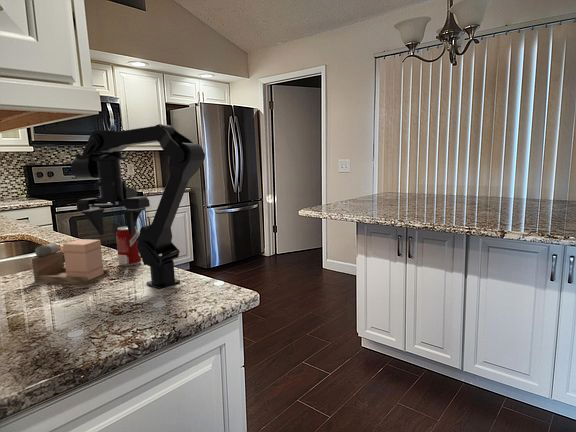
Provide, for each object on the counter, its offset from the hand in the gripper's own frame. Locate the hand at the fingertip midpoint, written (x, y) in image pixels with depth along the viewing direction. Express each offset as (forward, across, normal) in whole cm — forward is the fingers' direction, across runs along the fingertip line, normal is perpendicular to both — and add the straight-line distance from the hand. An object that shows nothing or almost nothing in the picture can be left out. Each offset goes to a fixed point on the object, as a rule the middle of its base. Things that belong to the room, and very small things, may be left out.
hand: (116, 234), depth 103 cm
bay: (+12, +15, +1) cm, 20 cm away
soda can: (+13, +7, -15) cm, 21 cm away
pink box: (+12, +11, +1) cm, 16 cm away
